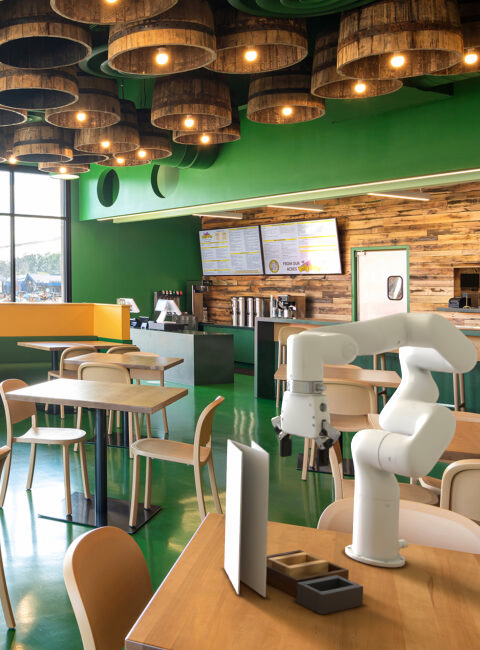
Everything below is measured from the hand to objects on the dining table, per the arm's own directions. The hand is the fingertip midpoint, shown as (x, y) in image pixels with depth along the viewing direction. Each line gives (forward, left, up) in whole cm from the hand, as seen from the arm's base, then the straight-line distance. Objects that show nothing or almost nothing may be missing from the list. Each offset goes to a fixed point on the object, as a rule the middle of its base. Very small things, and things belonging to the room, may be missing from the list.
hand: (303, 460), depth 154 cm
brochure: (+18, +1, -26) cm, 31 cm away
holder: (+5, +3, -26) cm, 26 cm away
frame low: (+9, +14, -26) cm, 31 cm away
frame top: (+5, +3, -25) cm, 26 cm away
